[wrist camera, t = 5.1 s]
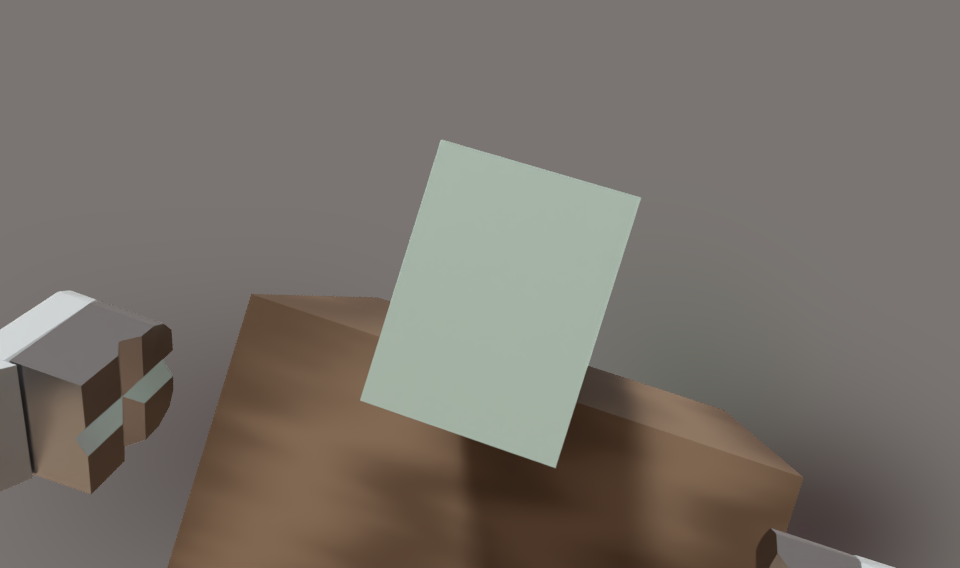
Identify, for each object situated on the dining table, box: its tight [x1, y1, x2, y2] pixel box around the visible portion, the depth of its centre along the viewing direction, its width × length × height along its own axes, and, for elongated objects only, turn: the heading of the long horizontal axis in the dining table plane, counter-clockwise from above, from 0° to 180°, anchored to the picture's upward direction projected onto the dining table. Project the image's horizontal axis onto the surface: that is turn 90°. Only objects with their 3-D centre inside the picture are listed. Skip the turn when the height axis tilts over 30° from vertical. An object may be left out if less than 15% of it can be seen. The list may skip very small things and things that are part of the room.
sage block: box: [360, 140, 641, 468], centre depth 22 cm, size 3×21×4 cm, turn 171°
